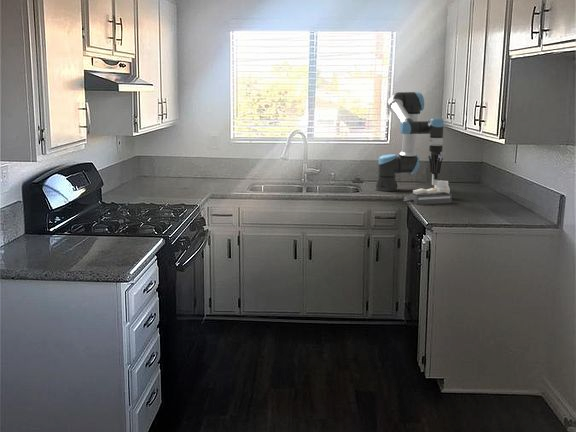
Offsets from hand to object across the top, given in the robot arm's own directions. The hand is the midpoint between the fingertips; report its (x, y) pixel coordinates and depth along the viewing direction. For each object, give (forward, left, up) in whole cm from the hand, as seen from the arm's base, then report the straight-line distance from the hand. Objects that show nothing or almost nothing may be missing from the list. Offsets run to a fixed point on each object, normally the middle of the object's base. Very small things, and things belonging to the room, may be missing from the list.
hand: (434, 184), depth 383 cm
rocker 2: (0, -2, -4) cm, 4 cm away
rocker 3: (0, +6, -4) cm, 7 cm away
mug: (-12, +13, -11) cm, 21 cm away
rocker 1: (0, -9, -4) cm, 10 cm away
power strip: (0, -5, -11) cm, 12 cm away
